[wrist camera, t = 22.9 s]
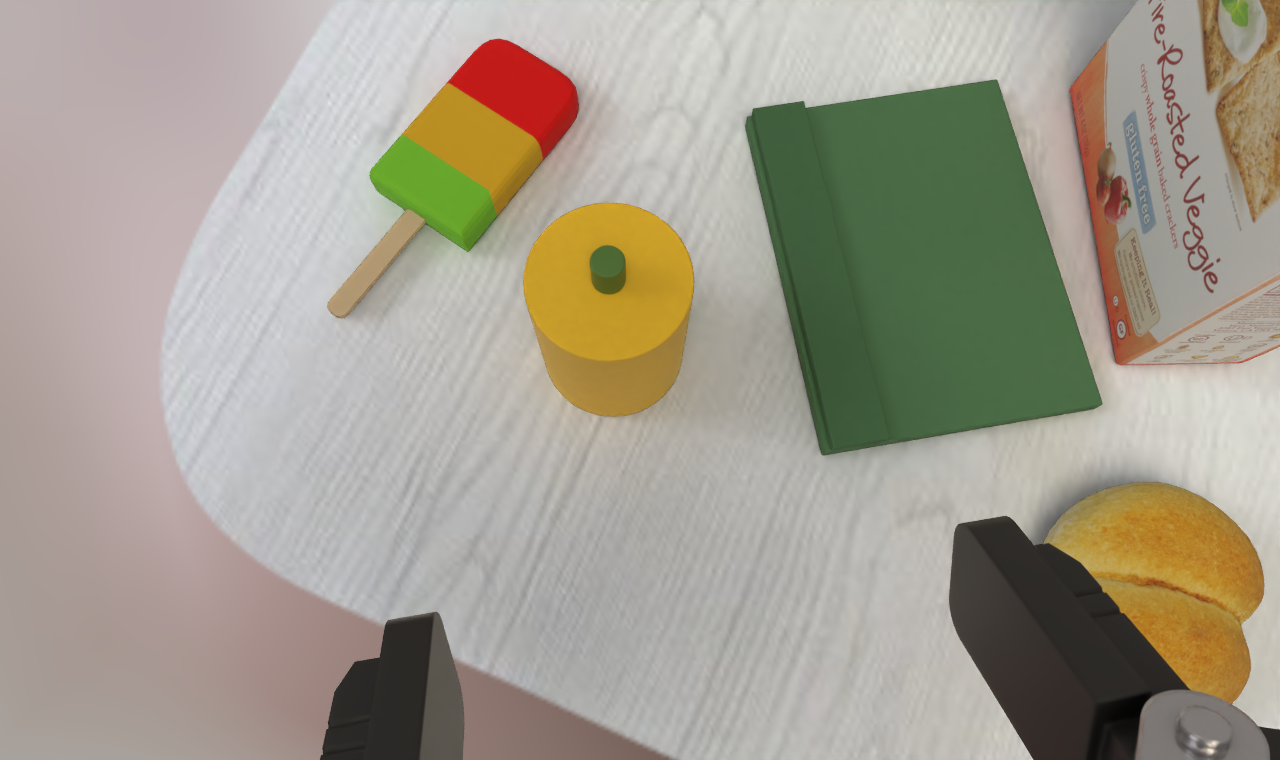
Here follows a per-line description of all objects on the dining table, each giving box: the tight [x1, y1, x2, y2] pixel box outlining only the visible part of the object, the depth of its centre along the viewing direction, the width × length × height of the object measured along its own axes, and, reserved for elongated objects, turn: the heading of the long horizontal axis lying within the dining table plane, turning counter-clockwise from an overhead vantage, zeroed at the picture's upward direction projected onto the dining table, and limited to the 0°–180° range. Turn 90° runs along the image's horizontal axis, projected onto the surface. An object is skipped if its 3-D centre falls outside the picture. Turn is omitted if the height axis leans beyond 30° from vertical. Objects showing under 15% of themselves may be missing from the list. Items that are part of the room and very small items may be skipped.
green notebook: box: [745, 80, 1102, 455], centre depth 40 cm, size 12×16×1 cm
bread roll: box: [1043, 482, 1264, 704], centre depth 35 cm, size 8×9×4 cm
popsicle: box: [327, 39, 579, 318], centre depth 40 cm, size 6×15×2 cm, turn 145°
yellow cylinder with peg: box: [523, 203, 694, 417], centre depth 35 cm, size 6×6×10 cm
